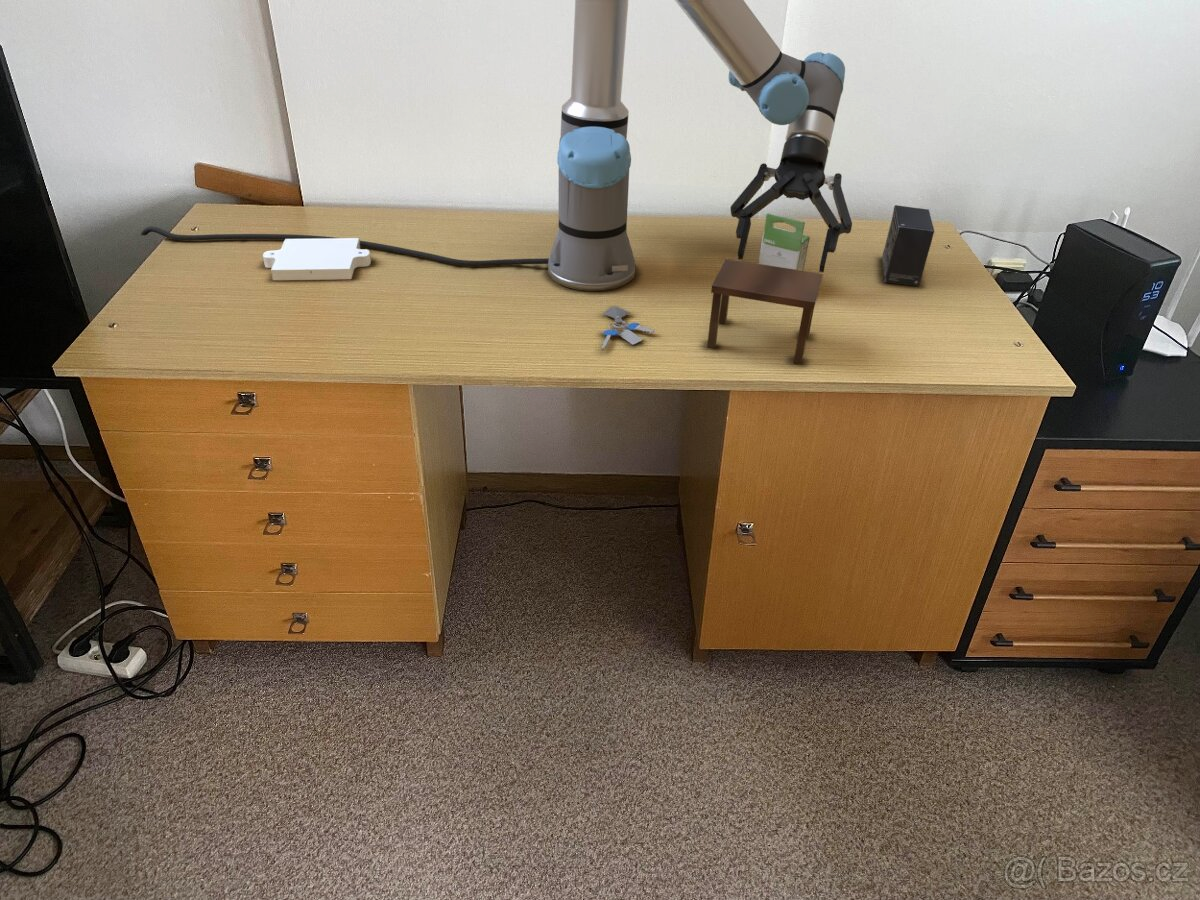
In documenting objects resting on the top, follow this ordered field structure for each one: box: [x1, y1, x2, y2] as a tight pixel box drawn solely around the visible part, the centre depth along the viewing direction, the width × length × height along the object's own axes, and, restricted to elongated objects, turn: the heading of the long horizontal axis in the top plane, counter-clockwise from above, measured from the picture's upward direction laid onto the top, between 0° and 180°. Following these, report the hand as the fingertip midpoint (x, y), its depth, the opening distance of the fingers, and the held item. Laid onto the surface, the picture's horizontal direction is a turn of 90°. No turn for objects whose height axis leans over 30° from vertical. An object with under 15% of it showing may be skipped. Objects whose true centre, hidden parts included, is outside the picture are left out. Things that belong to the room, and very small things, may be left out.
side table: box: [706, 258, 824, 365], centre depth 134 cm, size 15×10×10 cm, turn 72°
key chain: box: [601, 306, 656, 350], centre depth 138 cm, size 14×8×1 cm, turn 178°
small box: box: [880, 204, 935, 287], centre depth 155 cm, size 11×6×10 cm, turn 168°
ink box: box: [757, 213, 811, 271], centre depth 148 cm, size 7×4×13 cm, turn 58°
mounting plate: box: [262, 237, 372, 281], centre depth 154 cm, size 18×13×2 cm
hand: (780, 263), depth 147 cm, fingers open, 13 cm apart
